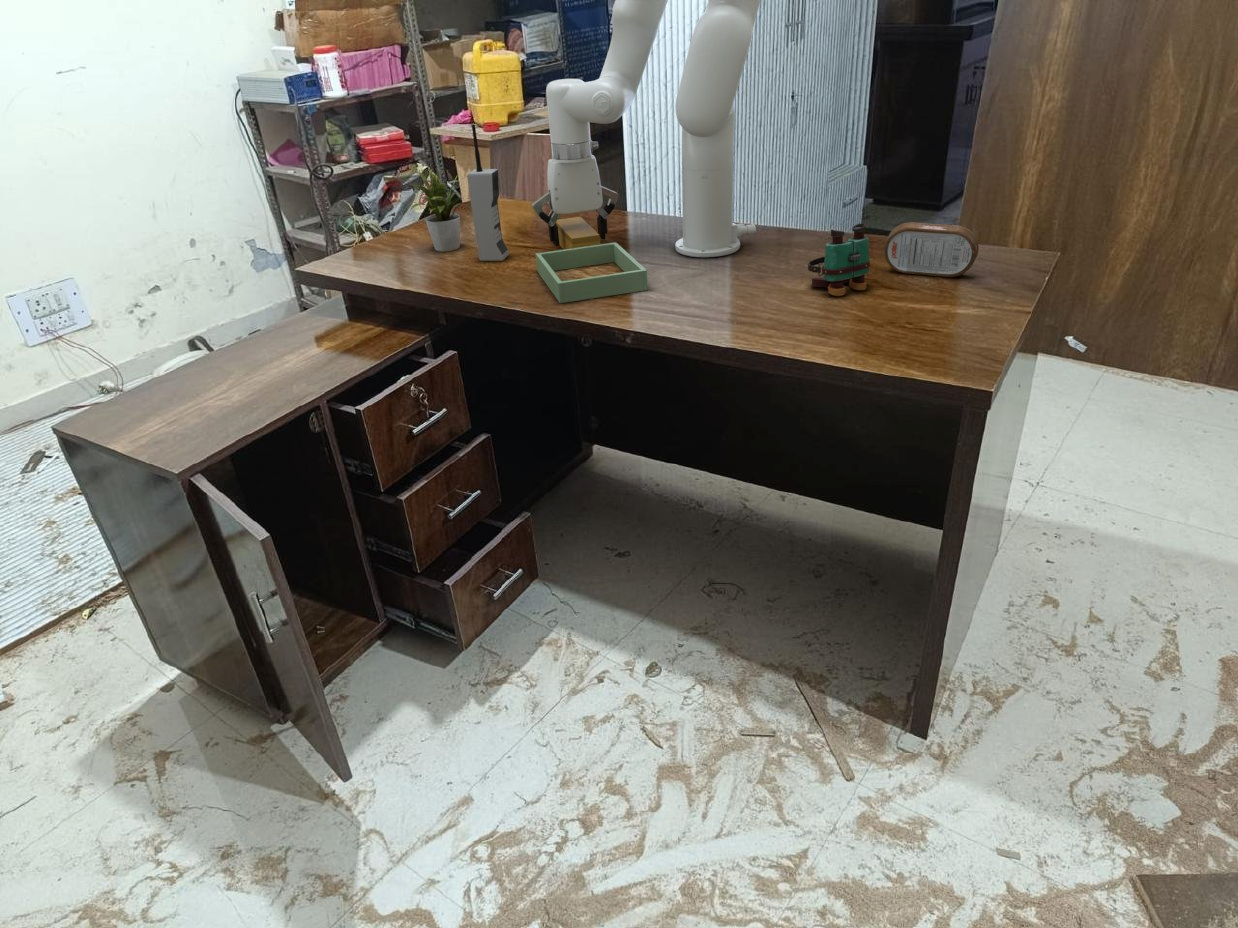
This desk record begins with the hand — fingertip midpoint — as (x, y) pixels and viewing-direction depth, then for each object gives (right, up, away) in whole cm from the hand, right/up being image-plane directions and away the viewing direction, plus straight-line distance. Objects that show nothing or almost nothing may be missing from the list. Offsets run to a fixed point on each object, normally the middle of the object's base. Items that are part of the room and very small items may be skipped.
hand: (579, 241), depth 167 cm
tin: (+61, -12, -23) cm, 66 cm away
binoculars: (+44, -15, -26) cm, 54 cm away
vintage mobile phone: (-17, -4, -1) cm, 17 cm away
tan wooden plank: (0, -1, +1) cm, 2 cm away
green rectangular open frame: (+3, -11, -16) cm, 20 cm away
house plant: (-29, 0, +7) cm, 30 cm away
